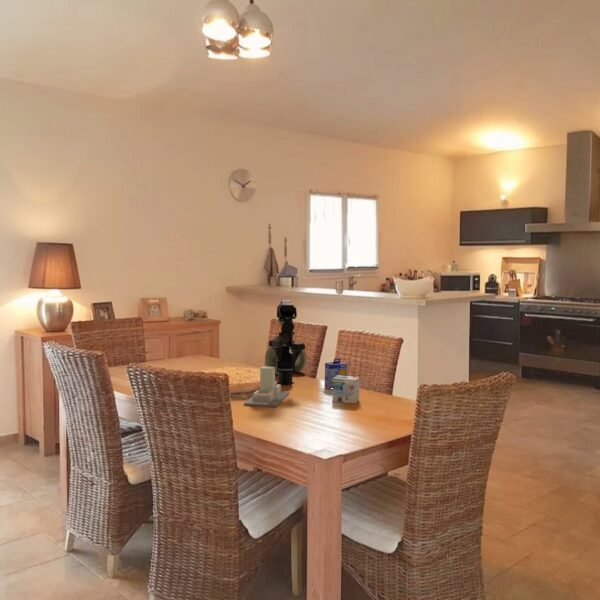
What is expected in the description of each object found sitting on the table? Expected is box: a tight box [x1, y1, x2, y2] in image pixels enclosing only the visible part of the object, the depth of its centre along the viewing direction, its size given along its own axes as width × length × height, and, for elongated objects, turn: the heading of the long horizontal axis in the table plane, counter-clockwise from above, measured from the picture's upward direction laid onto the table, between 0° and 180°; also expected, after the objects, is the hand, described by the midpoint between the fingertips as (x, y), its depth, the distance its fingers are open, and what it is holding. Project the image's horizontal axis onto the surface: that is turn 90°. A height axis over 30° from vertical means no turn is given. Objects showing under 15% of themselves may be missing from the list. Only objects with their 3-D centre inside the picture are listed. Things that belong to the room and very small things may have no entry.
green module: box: [259, 365, 276, 397], centre depth 281 cm, size 5×6×13 cm
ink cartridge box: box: [324, 358, 348, 390], centre depth 306 cm, size 10×6×14 cm, turn 115°
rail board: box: [243, 383, 290, 408], centre depth 281 cm, size 26×14×5 cm, turn 169°
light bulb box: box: [331, 375, 361, 404], centre depth 279 cm, size 11×7×11 cm, turn 68°
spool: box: [264, 347, 307, 376], centre depth 341 cm, size 16×15×15 cm
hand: (286, 362), depth 300 cm, fingers open, 9 cm apart
